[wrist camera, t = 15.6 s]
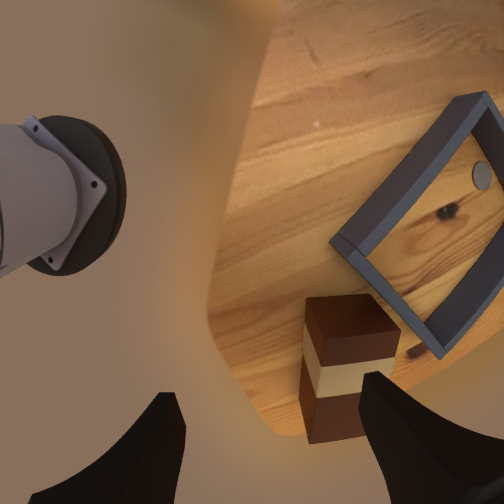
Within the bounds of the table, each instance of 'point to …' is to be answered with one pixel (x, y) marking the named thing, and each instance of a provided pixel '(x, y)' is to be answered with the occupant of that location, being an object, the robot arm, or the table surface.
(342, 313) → the brown tan banded block
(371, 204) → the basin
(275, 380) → the table surface
